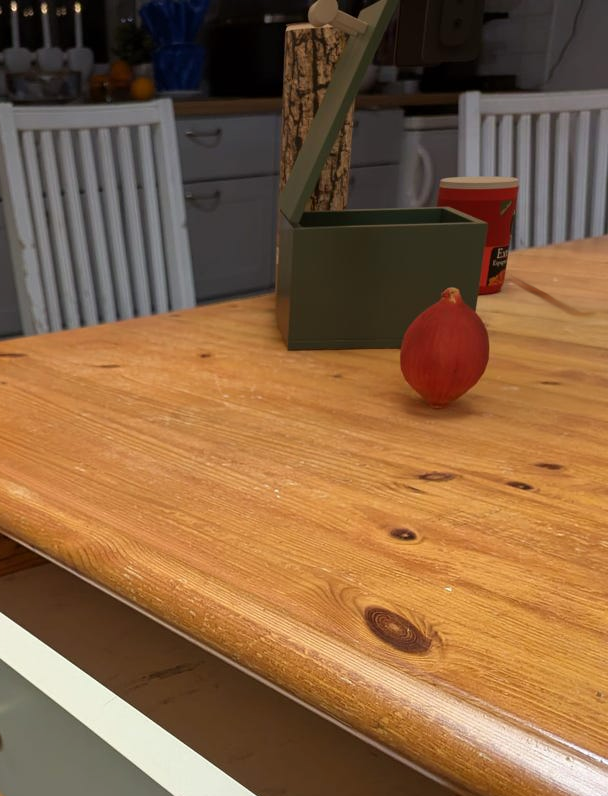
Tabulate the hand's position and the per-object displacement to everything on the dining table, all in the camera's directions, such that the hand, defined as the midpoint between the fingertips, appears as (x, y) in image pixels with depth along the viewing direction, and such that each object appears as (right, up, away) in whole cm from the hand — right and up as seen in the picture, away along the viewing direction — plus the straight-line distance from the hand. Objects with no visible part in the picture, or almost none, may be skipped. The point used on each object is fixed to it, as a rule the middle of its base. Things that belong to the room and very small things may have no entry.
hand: (432, 64), depth 61 cm
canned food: (+18, +2, +45) cm, 48 cm away
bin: (+3, -8, +28) cm, 29 cm away
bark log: (0, -2, +40) cm, 40 cm away
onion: (+2, -21, +6) cm, 22 cm away
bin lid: (-2, +7, +19) cm, 21 cm away
